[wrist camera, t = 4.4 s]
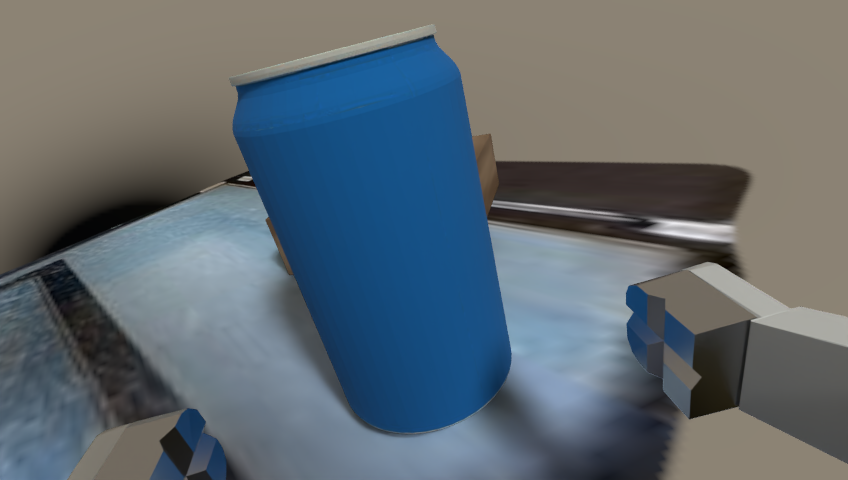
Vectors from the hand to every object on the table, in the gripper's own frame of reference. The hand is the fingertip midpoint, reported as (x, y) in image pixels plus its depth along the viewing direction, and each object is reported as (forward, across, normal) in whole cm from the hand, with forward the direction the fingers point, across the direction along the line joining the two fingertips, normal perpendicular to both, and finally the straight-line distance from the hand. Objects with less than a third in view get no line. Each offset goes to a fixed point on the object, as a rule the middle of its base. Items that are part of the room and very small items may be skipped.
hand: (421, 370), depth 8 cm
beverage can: (+7, 0, +7) cm, 9 cm away
